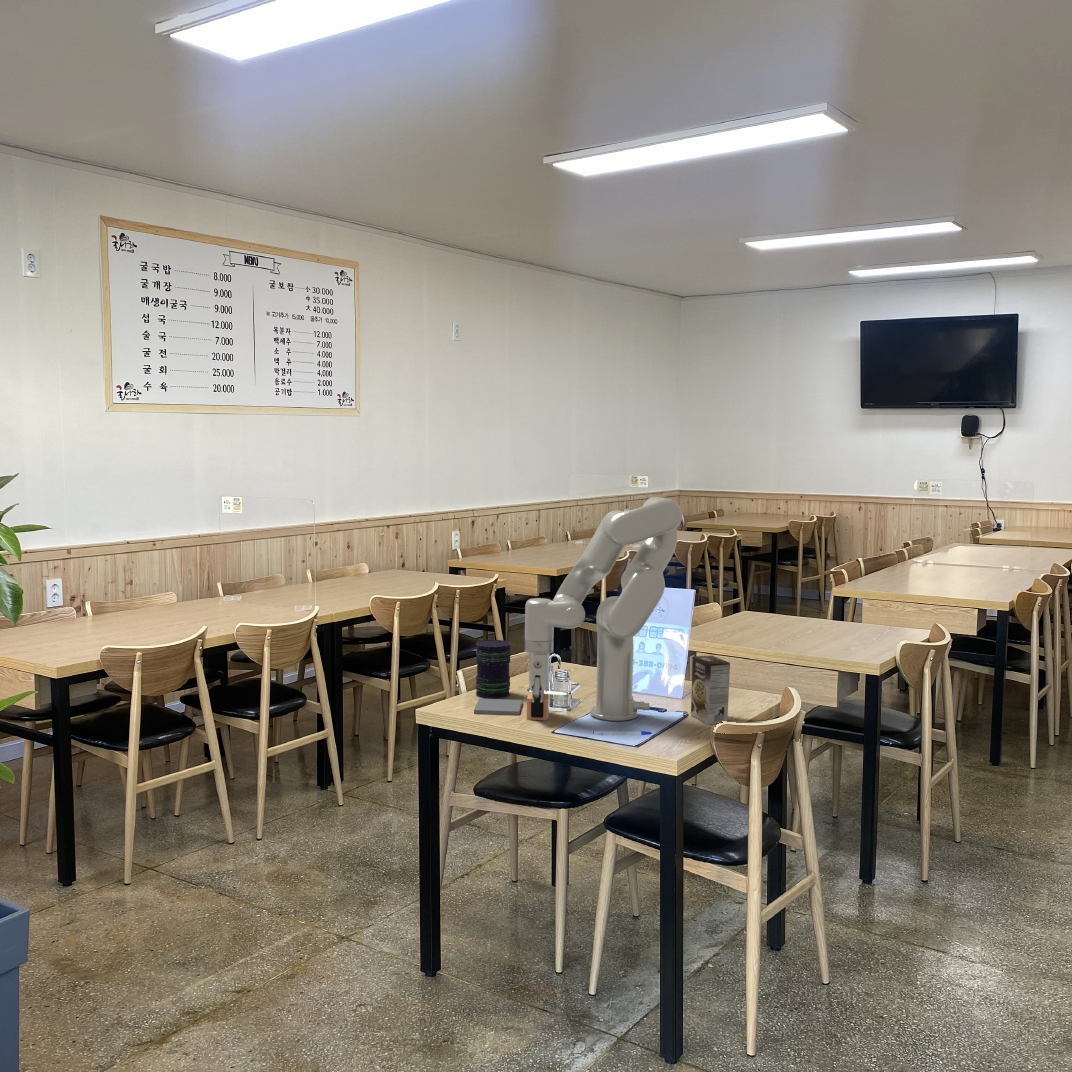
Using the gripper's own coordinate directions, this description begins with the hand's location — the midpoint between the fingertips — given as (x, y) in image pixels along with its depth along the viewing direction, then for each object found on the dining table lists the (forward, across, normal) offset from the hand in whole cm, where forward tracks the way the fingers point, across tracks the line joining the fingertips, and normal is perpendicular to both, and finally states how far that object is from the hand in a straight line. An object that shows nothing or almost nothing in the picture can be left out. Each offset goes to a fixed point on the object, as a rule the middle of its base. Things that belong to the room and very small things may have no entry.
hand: (537, 713), depth 261 cm
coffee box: (+1, +3, -45) cm, 45 cm away
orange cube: (+1, 0, 0) cm, 1 cm away
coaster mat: (+1, +7, +11) cm, 13 cm away
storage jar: (+1, +22, +14) cm, 26 cm away
